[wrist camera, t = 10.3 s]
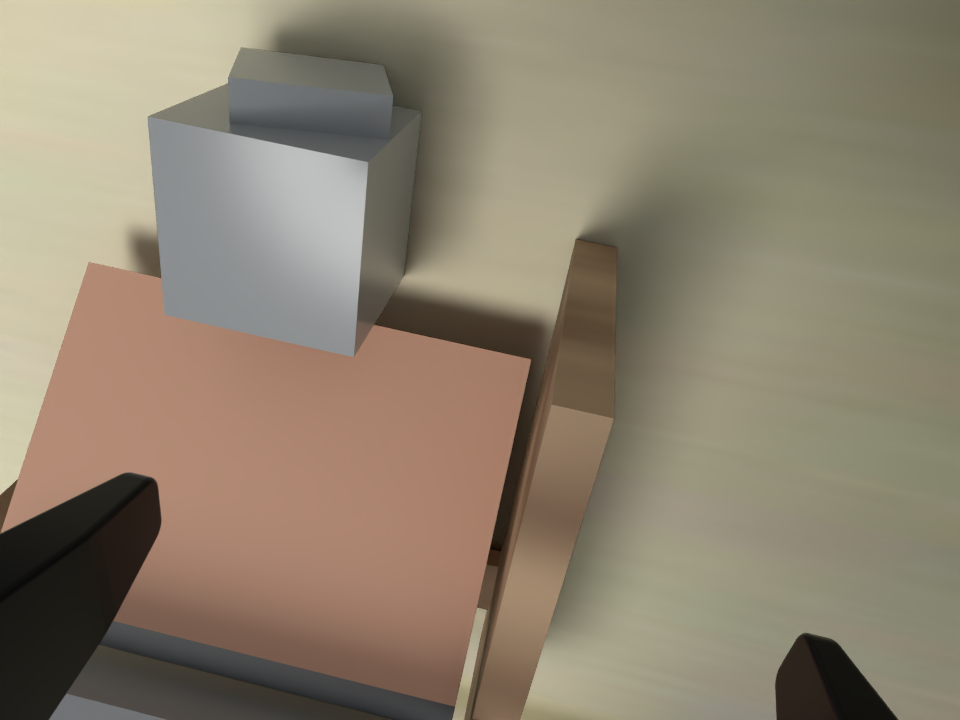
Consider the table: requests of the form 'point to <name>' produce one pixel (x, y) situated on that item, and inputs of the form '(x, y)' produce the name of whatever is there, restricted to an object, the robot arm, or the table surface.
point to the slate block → (285, 199)
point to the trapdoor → (278, 510)
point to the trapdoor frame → (544, 487)
